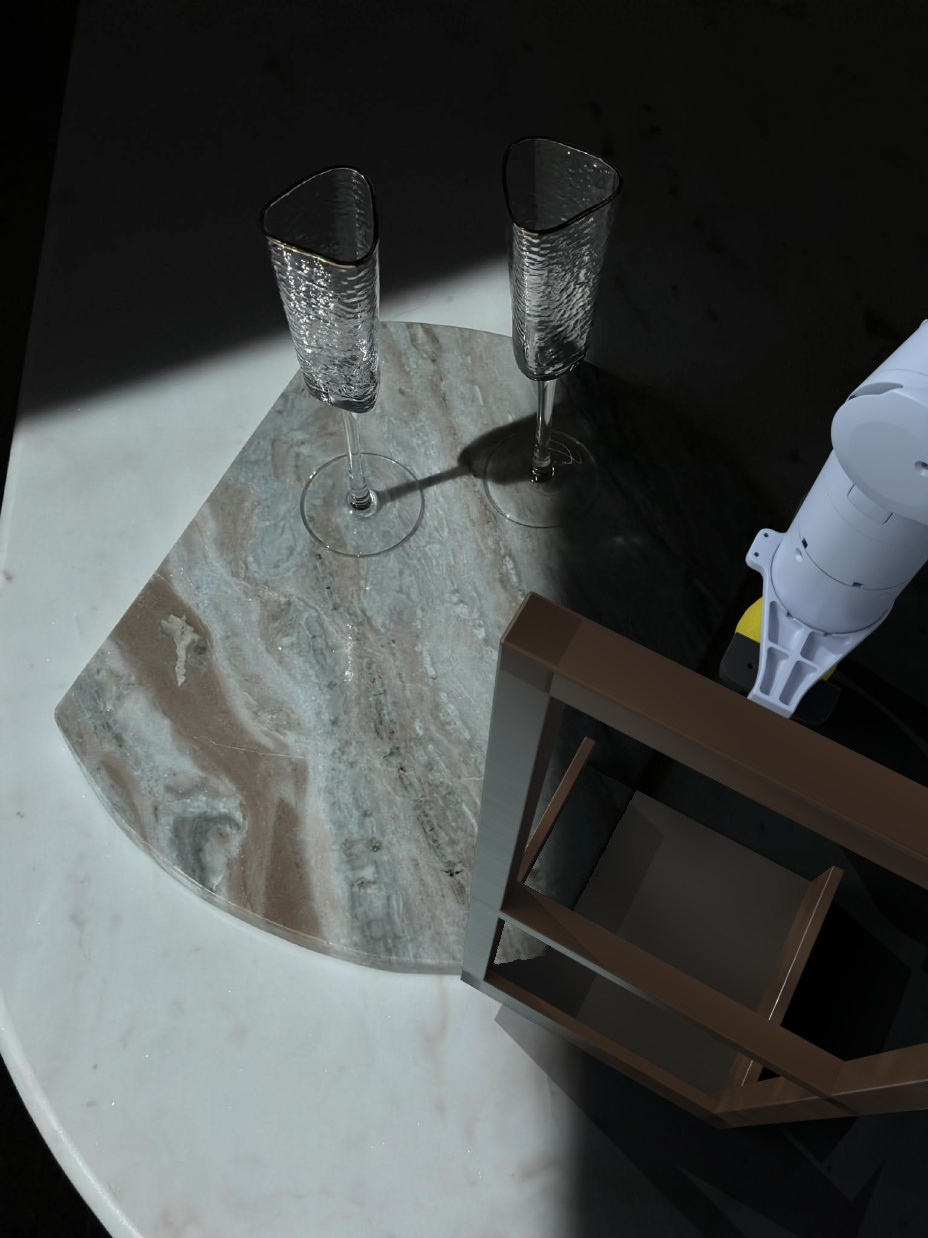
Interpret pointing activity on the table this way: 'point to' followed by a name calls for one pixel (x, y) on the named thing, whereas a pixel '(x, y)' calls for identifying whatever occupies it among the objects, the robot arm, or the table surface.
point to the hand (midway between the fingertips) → (779, 654)
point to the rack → (679, 883)
